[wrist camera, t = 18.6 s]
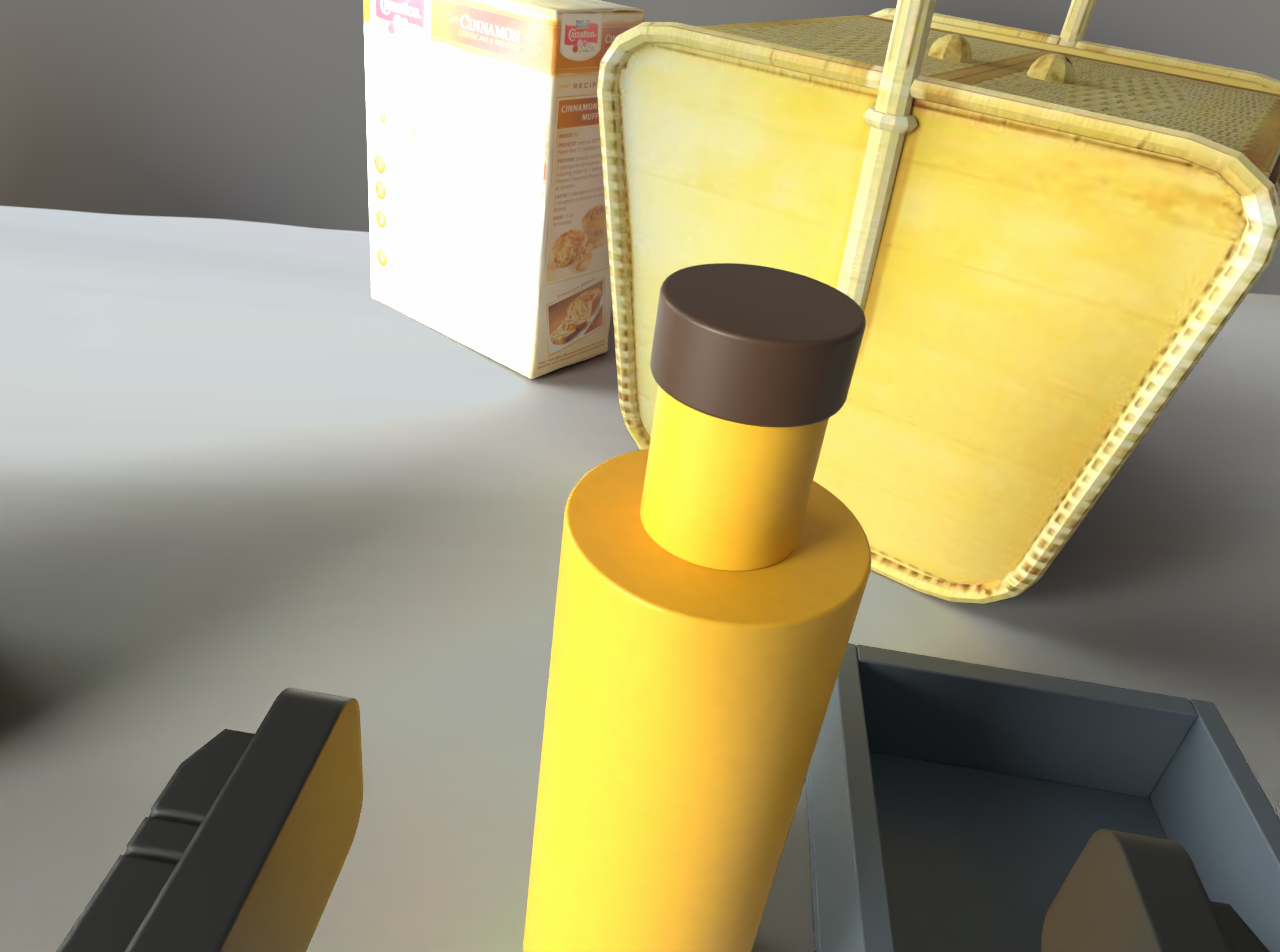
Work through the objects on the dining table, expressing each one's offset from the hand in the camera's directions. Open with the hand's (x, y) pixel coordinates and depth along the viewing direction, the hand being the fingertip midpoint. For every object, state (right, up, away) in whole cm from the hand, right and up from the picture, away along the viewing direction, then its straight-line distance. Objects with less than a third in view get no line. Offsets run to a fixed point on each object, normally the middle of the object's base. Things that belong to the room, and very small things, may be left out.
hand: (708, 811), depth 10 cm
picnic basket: (+13, +5, +43) cm, 46 cm away
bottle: (-1, -10, +15) cm, 18 cm away
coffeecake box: (-11, +13, +50) cm, 53 cm away
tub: (+11, -10, +18) cm, 23 cm away
